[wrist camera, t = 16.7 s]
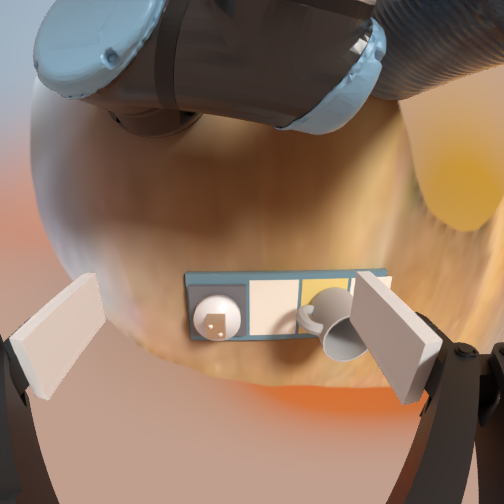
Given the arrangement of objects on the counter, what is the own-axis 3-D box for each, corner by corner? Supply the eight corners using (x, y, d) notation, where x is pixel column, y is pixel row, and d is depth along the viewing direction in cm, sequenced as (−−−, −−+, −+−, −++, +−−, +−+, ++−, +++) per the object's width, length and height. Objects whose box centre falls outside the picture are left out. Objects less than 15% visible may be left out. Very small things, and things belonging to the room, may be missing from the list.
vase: (338, 101, 36) (517, 17, 5) (316, 5, 31) (404, -138, 1) (430, 104, 36) (601, 84, 5) (408, 16, 31) (534, -60, 1)
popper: (193, 293, 40) (188, 308, 36) (240, 293, 40) (240, 308, 36) (197, 333, 42) (193, 350, 38) (240, 333, 42) (241, 351, 38)
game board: (186, 271, 42) (183, 276, 40) (390, 268, 43) (395, 272, 41) (192, 336, 45) (190, 343, 43) (378, 329, 46) (383, 334, 44)
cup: (345, 329, 45) (364, 362, 36) (285, 323, 44) (294, 358, 35) (359, 289, 43) (383, 317, 34) (297, 279, 42) (310, 308, 33)
